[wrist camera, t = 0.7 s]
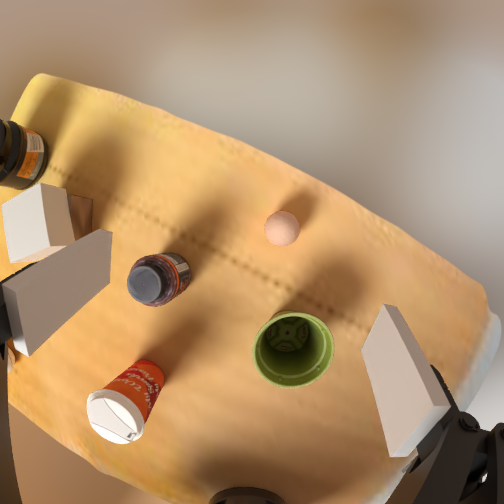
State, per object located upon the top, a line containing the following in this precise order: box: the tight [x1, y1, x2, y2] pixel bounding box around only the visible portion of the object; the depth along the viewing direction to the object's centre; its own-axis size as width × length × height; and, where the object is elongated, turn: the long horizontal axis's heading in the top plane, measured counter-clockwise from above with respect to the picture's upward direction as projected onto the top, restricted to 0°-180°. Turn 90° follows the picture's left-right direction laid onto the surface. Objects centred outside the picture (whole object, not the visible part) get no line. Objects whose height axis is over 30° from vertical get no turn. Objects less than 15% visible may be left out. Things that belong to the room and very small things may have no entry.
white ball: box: [7, 347, 15, 373], centre depth 41 cm, size 8×6×6 cm
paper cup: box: [87, 360, 164, 444], centre depth 36 cm, size 8×8×14 cm
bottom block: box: [67, 195, 93, 241], centre depth 39 cm, size 8×8×6 cm
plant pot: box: [252, 311, 334, 388], centre depth 38 cm, size 9×9×9 cm
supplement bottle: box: [127, 253, 191, 307], centre depth 36 cm, size 6×6×11 cm
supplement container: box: [0, 119, 48, 190], centre depth 36 cm, size 10×10×12 cm
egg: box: [264, 211, 300, 246], centre depth 39 cm, size 4×4×6 cm
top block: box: [2, 183, 75, 263], centre depth 33 cm, size 8×8×6 cm
